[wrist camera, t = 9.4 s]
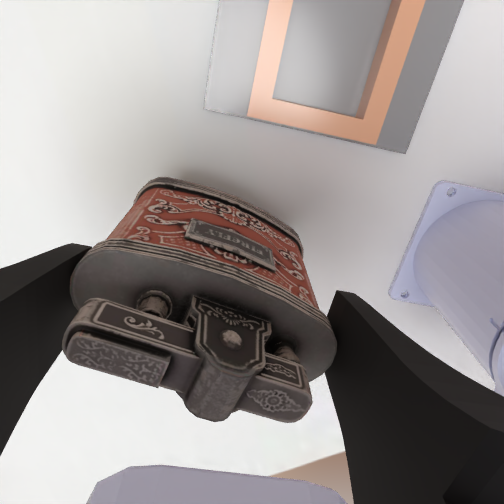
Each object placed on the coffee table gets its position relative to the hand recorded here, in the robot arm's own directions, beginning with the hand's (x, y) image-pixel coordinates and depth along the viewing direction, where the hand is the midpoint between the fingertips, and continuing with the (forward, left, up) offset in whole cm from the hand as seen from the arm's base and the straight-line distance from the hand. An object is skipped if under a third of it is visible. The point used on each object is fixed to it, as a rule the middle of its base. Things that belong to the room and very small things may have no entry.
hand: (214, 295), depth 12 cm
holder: (-3, -11, -10) cm, 15 cm away
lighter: (0, 0, -6) cm, 6 cm away
